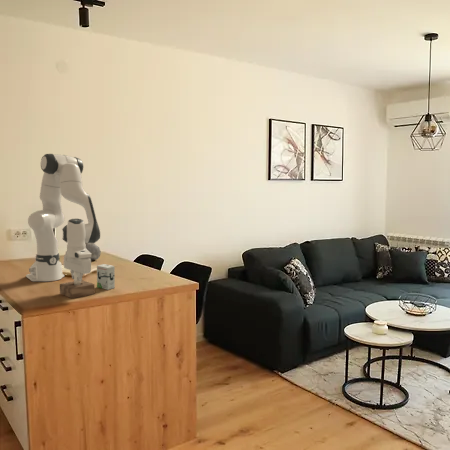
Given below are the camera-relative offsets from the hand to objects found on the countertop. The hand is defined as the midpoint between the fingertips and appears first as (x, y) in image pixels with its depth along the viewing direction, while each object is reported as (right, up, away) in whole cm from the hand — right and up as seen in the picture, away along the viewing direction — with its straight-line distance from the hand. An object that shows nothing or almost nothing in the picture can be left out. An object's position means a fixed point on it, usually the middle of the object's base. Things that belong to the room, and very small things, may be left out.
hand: (77, 279), depth 227 cm
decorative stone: (-19, +2, +86) cm, 88 cm away
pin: (0, -5, +1) cm, 5 cm away
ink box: (+11, -6, +14) cm, 19 cm away
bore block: (0, -7, +1) cm, 7 cm away
